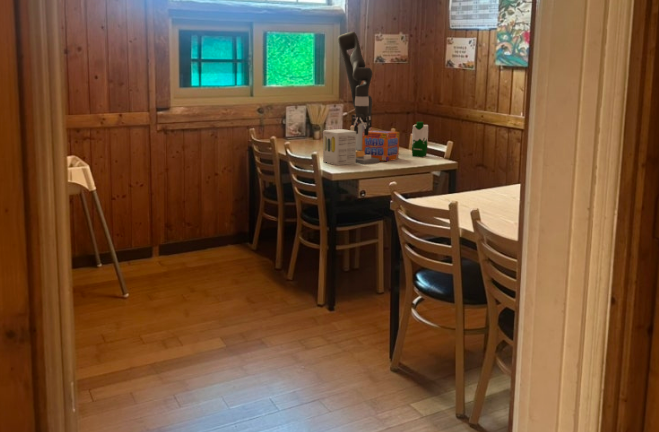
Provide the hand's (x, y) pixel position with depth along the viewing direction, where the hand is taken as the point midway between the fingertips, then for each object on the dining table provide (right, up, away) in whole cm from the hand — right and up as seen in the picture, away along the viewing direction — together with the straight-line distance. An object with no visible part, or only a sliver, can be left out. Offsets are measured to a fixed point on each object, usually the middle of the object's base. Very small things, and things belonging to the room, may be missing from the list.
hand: (361, 134), depth 391 cm
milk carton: (+35, -10, +25) cm, 44 cm away
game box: (+11, -13, +12) cm, 21 cm away
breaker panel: (0, -14, +3) cm, 15 cm away
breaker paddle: (0, -12, +3) cm, 13 cm away
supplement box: (-12, -16, -2) cm, 20 cm away
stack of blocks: (+7, 0, +66) cm, 67 cm away
